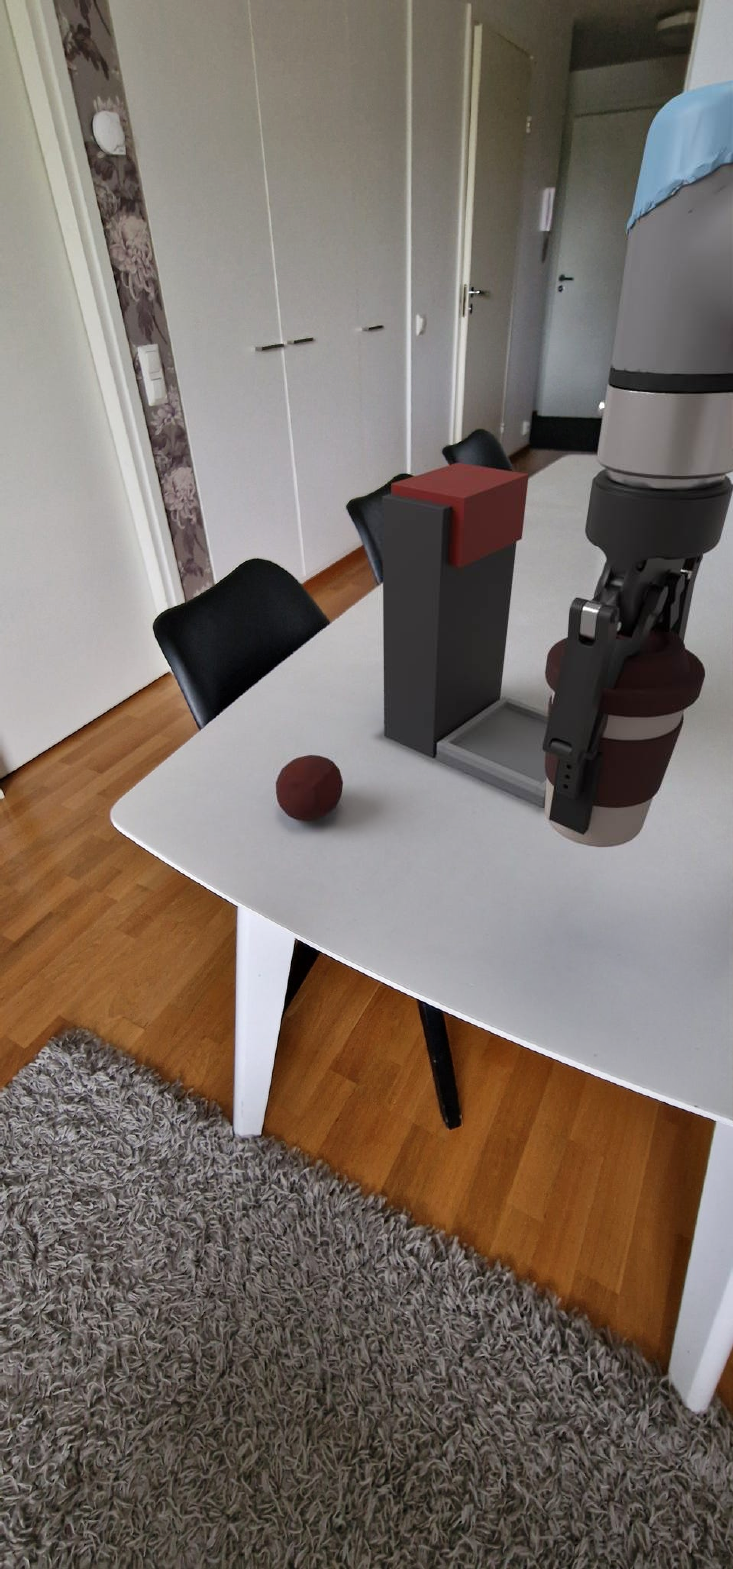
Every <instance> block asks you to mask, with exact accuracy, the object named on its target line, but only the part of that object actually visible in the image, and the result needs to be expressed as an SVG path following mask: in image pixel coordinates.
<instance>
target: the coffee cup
mask: <svg viewBox="0 0 733 1569" xmlns="http://www.w3.org/2000/svg"><path fill="white" fill-rule="evenodd" d="M616 639H619V640H622V641H629V640H631V638H630V637H625V636H622V635H618V634H617V635H616ZM566 642H567V637H564V638H562V639H560V640H559V641H557V642H555V643H554V644H553V645H552V646H551V648H550V649H549V651H548V652H547V655H546V662H545V668H544V669H545V670H544V678H545V681H546V683H547V685H548V686H549V688H550V689H551V690H552V691H551V692H552V694H551V695H550V697H549V700H548V705H547V712H548V719H547V724H548V720H549V716H550V711H551V707H552V703H553V698H554V694H555V690H556V685H557V681H558V677H559V672H560V668H561V664H562V659H563V655H564V651H565V647H566ZM705 678H706V669H705V666H704V664H703V662H702V660H700V658H699V657H698V656H697V655H696V654H694V653H693V652H691V651H690V650H689V649H687V648H686V644H685V641H684V642H683V640H682V639H681V638H680V637H679V636H678V635H677V634H676V633H674V632H673V631H671V630H669V631H668V632H661V631H655V630H650V632H649V634H648V637H647V640H646V643H645V645H644V648H643V651H642V652H641V654H640V655H638V656H636V657H631V658H629V659H628V660H627V661H626V662H625V665H624V668H623V671H622V673H621V676H620V679H619V682H618V685H617V687H616V688H615V689H614V690H610V689H607V688H603V692H602V696H601V700H600V703H599V707H598V711H601V710H606V711H605V714H608V721H607V726H606V729H605V732H604V734H603V737H602V740H601V743H600V745H599V748H598V752H600V753H603V758H602V764H601V769H600V774H599V779H598V784H597V789H596V794H595V799H594V804H593V809H592V814H591V819H590V824H589V829H588V830H587V832H586V833H585V834H584V835H582V834H580V833H578V832H575V831H573V830H571V829H569V828H567V827H564V826H562V825H560V824H558V823H555V822H553V821H551V820H549V815H550V809H551V802H552V796H553V789H554V783H555V777H556V770H557V764H558V757H557V756H555V755H552V754H550V753H547V752H545V773H546V776H547V783H546V798H545V806H544V814H545V817H546V819H547V821H548V823H549V825H550V826H551V828H553V829H554V830H555V831H556V832H557V833H558V834H559V835H561V836H562V837H563V838H565V839H567V840H570V841H571V842H574V843H577V844H580V845H584V846H588V847H594V848H595V847H596V848H612V847H618V846H622V845H624V844H627V843H629V842H632V840H633V839H635V838H636V837H638V835H639V834H640V832H641V831H642V829H643V828H644V824H645V822H646V820H647V816H648V814H649V811H650V808H651V805H652V803H653V800H654V797H655V796H656V795H657V794H658V792H659V791H660V788H661V786H662V783H663V781H664V777H665V775H666V772H667V770H668V767H669V764H670V762H671V759H672V756H673V753H674V751H675V747H676V746H677V743H678V740H679V737H680V734H681V732H682V728H683V725H684V719H685V718H684V717H685V715H684V712H685V710H686V709H688V708H689V707H691V706H692V705H694V704H695V702H696V701H697V700H698V699H699V697H700V695H701V692H702V688H703V686H704V681H705Z"/></svg>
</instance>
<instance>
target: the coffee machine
mask: <svg viewBox="0 0 733 1569" xmlns="http://www.w3.org/2000/svg"><path fill="white" fill-rule="evenodd" d="M529 475H530V474H529V473H525V472H518V471H513V470H505V469H498V468H492V467H488V466H480V465H475V464H469V463H468V464H467V463H462V462H455V463H453V464H449V465H446V466H442V467H439V468H435V469H433V470H430V471H427V472H423V473H420V474H416V475H415V476H414V475H413V476H411V477H408V478H404V479H402V480H398V481H395V482H392V483H391V484H390V485H391V488H390V489H391V490H390V491H391V492H390V493H389V494H386V495H383V496H381V499H382V500H381V503H382V504H381V505H382V509H381V510H382V511H381V512H382V516H381V517H382V521H381V522H382V625H383V626H382V629H383V630H382V632H383V633H382V634H383V636H382V638H383V643H382V644H383V735H384V737H385V738H388V739H389V740H392V741H394V742H396V743H399V744H401V745H403V746H404V747H405V746H406V747H408V748H410V749H411V750H414V751H416V752H418V753H421V754H423V755H425V756H427V757H430V758H431V759H435V758H436V761H439V762H440V763H444V764H445V765H447V766H449V767H452V768H454V769H456V770H459V771H461V772H463V773H465V774H467V775H469V776H472V777H474V778H476V779H478V780H481V781H483V782H485V783H487V784H489V785H492V786H494V787H496V788H498V789H500V790H503V791H505V792H507V793H510V794H512V795H514V796H516V797H518V798H520V799H523V800H525V801H527V802H529V803H532V804H533V805H536V806H538V807H541V808H545V798H546V783H547V776H546V773H545V751H543V749H542V747H543V742H544V737H545V733H546V729H547V719H548V711H545V710H542V709H539V708H537V707H534V706H532V705H529V704H526V703H523V702H521V701H518V700H515V699H513V698H510V697H507V696H504V695H503V696H501V694H502V685H503V676H504V668H505V666H504V665H505V656H506V648H507V637H508V628H509V620H510V609H511V600H512V599H511V598H512V590H513V579H514V572H515V571H514V570H515V563H516V562H515V561H516V553H517V552H516V551H517V543H518V542H519V541H520V540H522V539H523V533H524V532H523V531H524V524H525V523H524V522H525V514H526V512H525V511H526V504H527V494H528V486H529V478H530V477H529Z"/></svg>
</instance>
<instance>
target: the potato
mask: <svg viewBox="0 0 733 1569" xmlns="http://www.w3.org/2000/svg"><path fill="white" fill-rule="evenodd" d="M343 786H344V780H343V777H342V773H341V770H340V769H339V767H338V766H337V765H336V764H335V762H334V761H333V760H332V759H330V758H328V757H325V756H321V755H317V754H308V755H304V756H299V757H296V758H294V759H292V760H291V761H289V762H288V763H286V764H285V766H283V767H282V768H281V769H280V772H279V773H278V775H277V778H276V781H275V793H276V801H277V803H278V805H279V807H280V809H281V810H282V811H283V812H284V814H285V815H287V817H289V818H291V819H294V820H296V821H300V822H313V821H315V820H319V819H321V818H323V817H325V816H327V815H328V814H329V813H331V812H332V811H333V810H334V809H336V807H337V805H338V804H339V802H340V800H341V797H342V794H343V788H344V787H343Z"/></svg>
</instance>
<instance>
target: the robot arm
mask: <svg viewBox="0 0 733 1569" xmlns="http://www.w3.org/2000/svg"><path fill="white" fill-rule="evenodd" d="M625 235H627V238H628V239H627V246H626V255H625V261H624V270H623V277H622V284H621V292H620V299H619V306H618V313H617V321H616V329H615V335H614V336H615V337H614V342H613V343H614V344H613V352H612V359H611V364H610V365H609V366H610V368H609V374H608V380H607V385H606V386H607V388H606V393H605V399H602V400H601V402H600V403H599V405H598V407H597V414H598V416H599V418H602V419H601V426H600V433H599V439H598V446H597V452H596V461H597V462H598V464H599V465H600V466H601V467H603V468H604V469H602V470H600V471H598V473H597V474H596V475H595V476H594V477H593V478H592V481H591V487H590V494H589V499H588V500H589V501H588V507H587V514H586V521H585V527H584V528H585V529H584V532H585V537H586V539H587V541H589V543H591V544H592V545H593V546H595V547H597V548H599V550H601V552H602V553H603V555H604V556H605V559H606V561H605V562H604V564H603V568H602V572H601V574H600V576H599V578H598V581H597V583H596V587H595V589H594V592H593V597H592V599H586V598H583V597H577V596H576V597H575V598H574V599H573V600H572V601H571V604H570V606H569V609H568V610H569V611H568V622H567V623H568V624H567V637H566V638H567V642H566V647H565V651H564V655H563V659H562V664H561V668H560V672H559V677H558V681H557V685H556V690H555V694H554V698H553V703H552V707H551V711H550V716H549V720H548V724H547V729H546V733H545V737H544V742H543V747H542V749H543V751H545V752H547V753H550V754H552V755H555V756H557V757H558V764H557V770H556V777H555V783H554V789H553V796H552V802H551V809H550V815H549V820H551V821H553V822H555V823H558V824H560V825H562V826H564V827H567V828H569V829H571V830H573V831H575V832H578V833H580V834H582V835H584V834H585V833H586V832H587V830H588V829H589V824H590V819H591V814H592V809H593V804H594V799H595V794H596V789H597V784H598V779H599V774H600V769H601V764H602V758H603V753H600V752H598V748H599V745H600V743H601V740H602V737H603V734H604V732H605V729H606V726H607V721H608V714H605V711H606V710H601V711H598V707H599V703H600V700H601V696H602V692H603V688H607V689H610V690H614V689H615V688H616V687H617V685H618V682H619V679H620V676H621V673H622V671H623V668H624V665H625V662H626V661H627V660H628V659H629V658H631V657H636V656H638V655H640V654H641V652H642V651H643V648H644V645H645V643H646V640H647V637H648V634H649V632H650V630H655V631H661V632H668V631H669V630H671V631H673V632H674V633H676V634H677V635H678V636H679V637H680V638H681V639H682V640H683V642H684V643H685V637H686V632H687V627H688V621H689V616H690V610H691V605H692V599H693V593H694V589H695V583H696V580H697V576H698V573H699V570H700V567H701V563H702V561H703V558H704V555H705V554H707V553H709V552H711V551H712V550H713V549H715V548H716V547H717V546H718V544H719V543H720V541H721V537H722V533H723V530H724V526H725V522H726V519H727V515H728V512H729V511H728V510H729V507H730V504H731V501H732V500H731V499H732V497H733V496H732V495H733V483H732V480H731V478H730V477H729V476H728V475H727V474H730V473H733V79H732V80H725V81H720V82H715V83H712V84H707V85H703V86H700V87H699V86H698V87H696V88H693V89H689V90H686V91H683V92H681V93H679V95H676V96H675V97H673V98H671V99H670V100H668V101H667V102H666V103H665V104H664V106H663V107H662V108H660V110H659V111H658V112H657V113H656V114H655V117H654V118H653V120H652V123H651V124H650V127H649V128H648V133H647V136H646V140H645V144H644V149H643V155H642V161H641V165H640V171H639V175H638V181H637V186H636V191H635V196H634V202H633V207H632V211H631V215H630V217H629V219H628V221H627V224H626V231H625ZM617 634H618V635H622V636H625V637H630V638H631V640H629V641H622V640H619V639H616V635H617Z"/></svg>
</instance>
